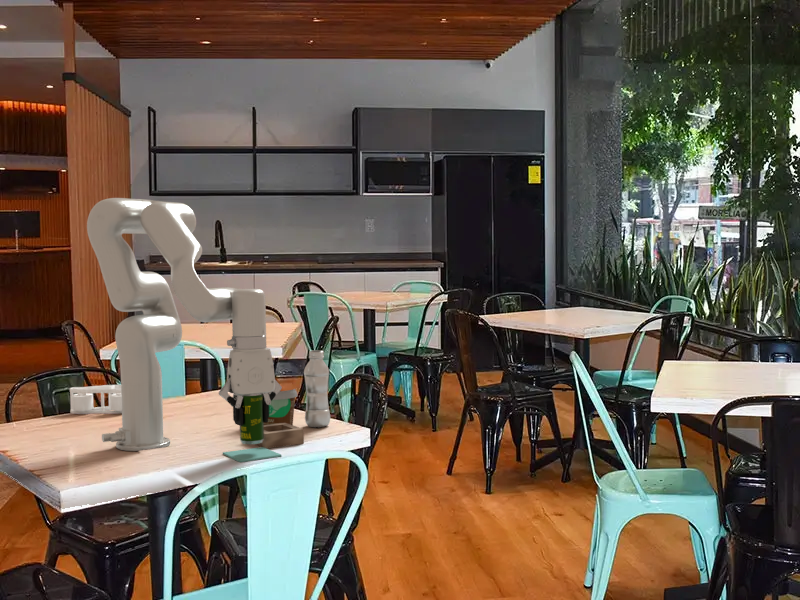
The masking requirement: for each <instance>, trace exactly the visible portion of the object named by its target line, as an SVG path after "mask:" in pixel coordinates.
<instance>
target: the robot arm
mask: <svg viewBox="0 0 800 600" xmlns="http://www.w3.org/2000/svg"><path fill="white" fill-rule="evenodd" d="M196 226H197V218H196V214H195V213H194V210H193V209H192V208H191V207H190V206H188V205H187V204H185V203H183V202H173V201H163V200H162V201H161V200H152V199H146V198H145V199H142V198H128V197H127V198H126V197H110V198H106V199H102V200H100V201H98V202H96V203H95V205H94V206H93V207H92V208H91V210H90V211H89V214H88V217H87V221H86V230H87V236H88V239H89V242H90V245H91V247H92V249H93V251H94V254H95V257H96V258H97V262H98V265H99V268H100V272H101V274H102V279H103V282H104V285H105V288H106V291H107V295H108V297H109V301H110V303H111V305H112V306H113V308H114V309H115V310H117V311H119V312H122V313H124V312H126V313H130V312H132V313H133V312H142V314H139V315H132V316H129V317H127V318H125V319H123V320H122V321H121V322H119V323H118V325H117V328H116V330H115V334H114V335H115V336H114V337H115V345H116V349H117V353H118V358H119V359H118V360H119V366H120V367H119V368H120V385H121V395H122V413H121V422H122V423H121V424H122V425H121V427H119V428H118V430H116V431H114V432H113V433H112V432H111V433H110V432H108V433H102V434H101V441H102V442H103V443H105V442H106V443H107V442H111V443H115V447H116V449H118V450H121V451H127V452H139V451H146V450H155V449H163V448H166V447H169V446H170V444H171V439H170V438H168V437H165V436H164V412H163V411H164V410H163V409H164V406H163V402H164V401H163V373H162V368H161V365H160V361H159V360H158V357H157V355H156V353H161V352H168V351H171V350H173V349H175V348H177V346H179V344H180V343H181V340H182V336H183V328H182V324H181V323H182V322H181V318H180V316H179V313H178V309H177V306H176V303H175V300H174V296H173V293H172V291H171V288H170V286H169V284H168V282H167V280H166V278H164V277H163V276H162V275H161V274H159V273H157V272H154V271H141V269H140V268H139V265H138V263H137V259H136V257H135V253H134V251H133V249H132V247H131V246H130V244H128V242H127V241H126V240H125V239H124V237H123V236H122V235H123V234H126V235H127V234H129V235H130V234H133V235H134V234H139V235H141V234H143V235H147V236H148V237H149V239H150V240H151V242H152V243H153V244H154V246H155V247H156V249H158V251H159V252H160V254H161V256H162V257H163V258H164V260H165V261H166V262H167V263H168V265H169V267H170V279H171V286H172V289H173V292H174V294H175V296H176V298H177V299H178V301H179V302H180V304H181V305H182V307H184V310H186V312H187V313H188V314H189V315H190V316H191V317H192V318H193V319H194V320H196V321H198V322H201V323H213V322H220V321H229V320H231V323H232V336H231V339H227V340H226V345H227V346H228V347H231V348H232V349H230V351H229V354H228V360H227V361H228V363H227V370H226V371H227V374H226V375H227V377H226V381H225V383H224V385H223V386H222V387H221V388H220V390H219V391H218V396H219V397H221V398H223V400H225V401H226V402H227V403H228V404H229V405H230V407H232V417H233V418H232V420H233V422H234V424H235V425H237V426H239V427H240V426H242V425H243V408H241V402H242V399H243V395H252V394H263V422H265V423H266V422H268V418H269V405H270V404H271V401H272V400H273V398H274V397H275V396H276V394H277V393H278V392H279V391H282V388H283V387H282V385H281V384H280V383H279V382H278V381H277V380H276V379H275V378H276V377H275V368H274V360H273V357H272V351H271V348H267V317H266V314H267V311H266V293H265V291H264V290H262V289H261V288H260V289H259V288H235V287H227V286H226V287H214V288H212V287H211V288H210V287H209V288H207V286H206V285H205V283H203V281H202V280H201V278H200V277H199V276H198V274H197V272H196V270H195V264H196V263H197V262H198V261H199V259H200V258H201V256H202V254H203V247H202V245H201V244H200V242H199V241H198V240H197V238H196V237H195V236H194V234H193V233H194V231H195V230H196ZM229 393H230V394H233V395H232V396H231V395H230V394H229Z"/></svg>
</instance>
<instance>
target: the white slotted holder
mask: <svg viewBox="0 0 800 600" xmlns="http://www.w3.org/2000/svg"><path fill="white" fill-rule="evenodd" d="M69 392H70V393H69V394H70V395H69V397H70V400H69V401H70V411H69V412H70V414H73V415H74V414H78V415H90V414H92V415H93V414H101V415H102V414H103V415H104V414H107V415H108V414H111V415H112V414H113V415H115V414H122V395H121V384H104V385H103V384H102V385H92V386H74V387H69ZM94 394H100V405H101V406H97V407H94ZM105 394H108V406H105Z"/></svg>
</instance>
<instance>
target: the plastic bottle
mask: <svg viewBox="0 0 800 600" xmlns="http://www.w3.org/2000/svg"><path fill="white" fill-rule="evenodd" d="M324 353H325V352H324V350H321V349H320V350H317V349H314V350H309V353H308V359H309V361H308V362H307V364H306V365H305V367H304V370H303V375H304V382H305V392H306V405H305V406H306V407H305V408H306V409H305V413H304V420H305V421H304V422H305V424H306V425H307V426H308V427H311V428H316V427H318V428H323V427H326V426H329V424H330V422H331V414H330V413H331V411H330V408H329V400H328V398H329V397H328V390H329V389H328V386H329V378H330V377H329V375H330V369H329V367H328V365H327V364H326V362H325V361H324V358H325V356H324V355H325V354H324Z"/></svg>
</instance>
